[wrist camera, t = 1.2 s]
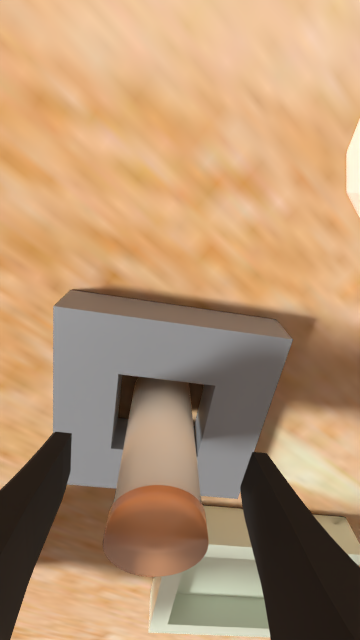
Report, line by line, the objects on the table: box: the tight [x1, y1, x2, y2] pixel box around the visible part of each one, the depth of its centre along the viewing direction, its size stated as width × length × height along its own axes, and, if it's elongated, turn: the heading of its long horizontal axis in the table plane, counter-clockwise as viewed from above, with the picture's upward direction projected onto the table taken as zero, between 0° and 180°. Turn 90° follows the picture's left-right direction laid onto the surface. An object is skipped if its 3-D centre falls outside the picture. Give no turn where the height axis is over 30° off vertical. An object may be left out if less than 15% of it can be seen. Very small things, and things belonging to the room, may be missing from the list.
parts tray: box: [149, 505, 360, 637], centre depth 21 cm, size 12×10×2 cm
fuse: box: [103, 377, 209, 577], centre depth 13 cm, size 3×3×8 cm
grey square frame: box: [53, 290, 293, 499], centre depth 15 cm, size 10×10×2 cm
